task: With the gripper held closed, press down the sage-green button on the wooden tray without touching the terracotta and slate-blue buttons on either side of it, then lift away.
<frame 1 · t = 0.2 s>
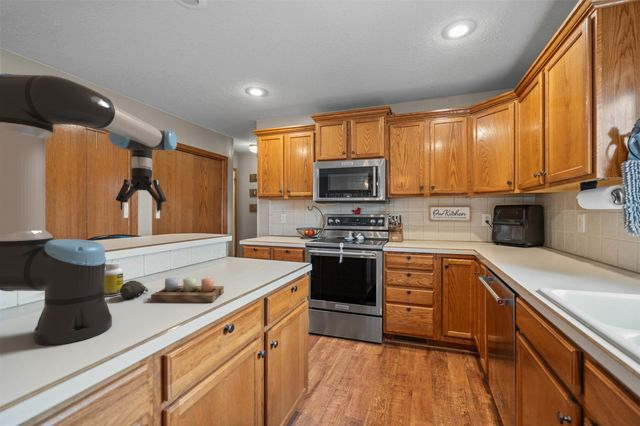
hand: (141, 218, 121), 28 cm above the counter, fingers open, 13 cm apart
sage button: (189, 284, 103), point 4 cm above the counter, slide at 0.0 cm
hand grenade: (134, 297, 102), on the counter
slate button: (171, 284, 103), point 4 cm above the counter, slide at 0.0 cm
terracotta button: (207, 284, 103), point 4 cm above the counter, slide at 0.0 cm
pill bottle: (112, 295, 104), on the counter
wooden tray: (189, 297, 103), on the counter
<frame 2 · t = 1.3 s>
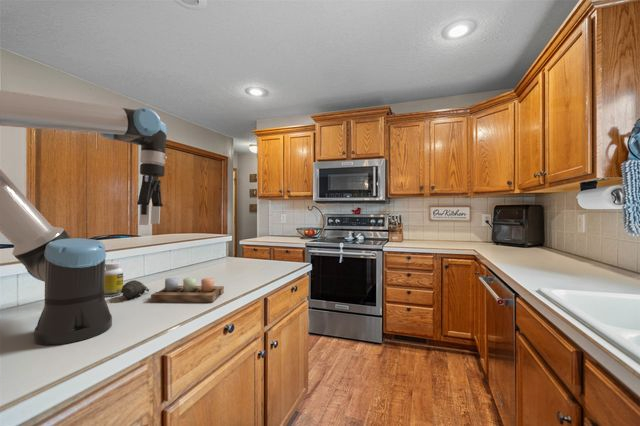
hand: (150, 224, 100), 26 cm above the counter, fingers open, 13 cm apart
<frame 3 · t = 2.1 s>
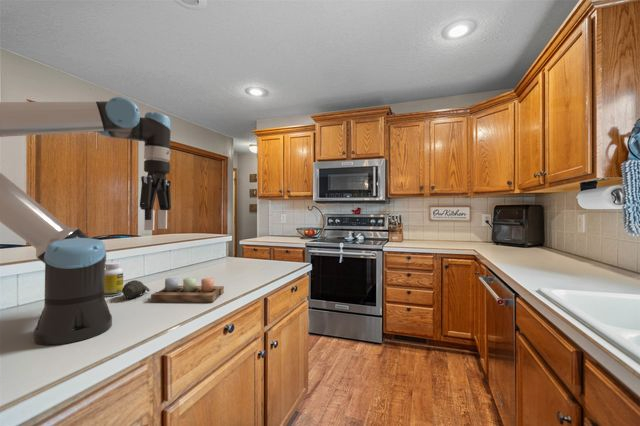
hand: (156, 229, 95), 25 cm above the counter, fingers open, 7 cm apart
nothing on the counter moved.
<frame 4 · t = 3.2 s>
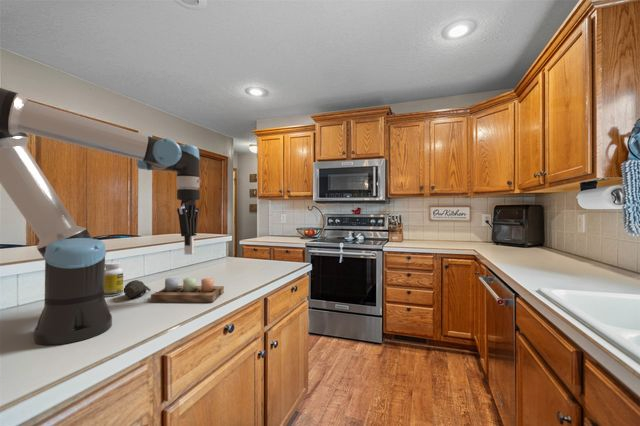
hand: (189, 254, 103), 16 cm above the counter, fingers closed
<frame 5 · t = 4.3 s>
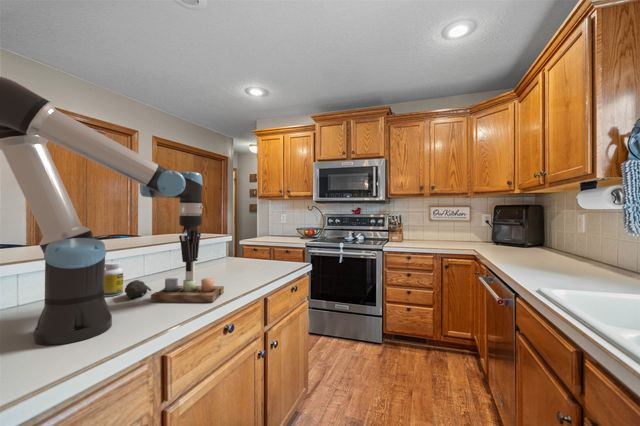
hand: (190, 279, 103), 6 cm above the counter, fingers closed
sage button: (189, 285, 103), point 4 cm above the counter, slide at 0.4 cm, touching gripper
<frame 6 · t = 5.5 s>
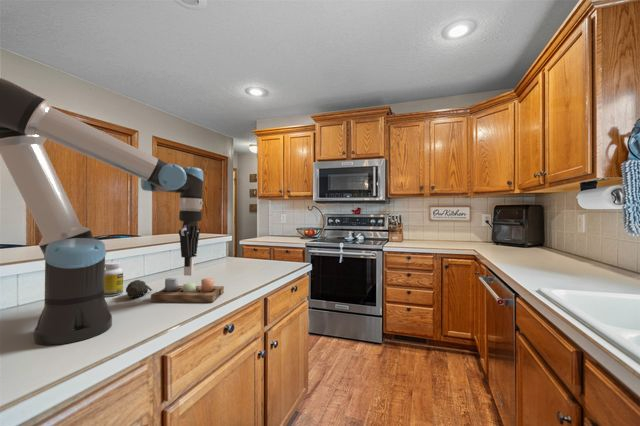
hand: (188, 275, 103), 8 cm above the counter, fingers closed
sage button: (189, 289, 103), point 3 cm above the counter, slide at 1.9 cm
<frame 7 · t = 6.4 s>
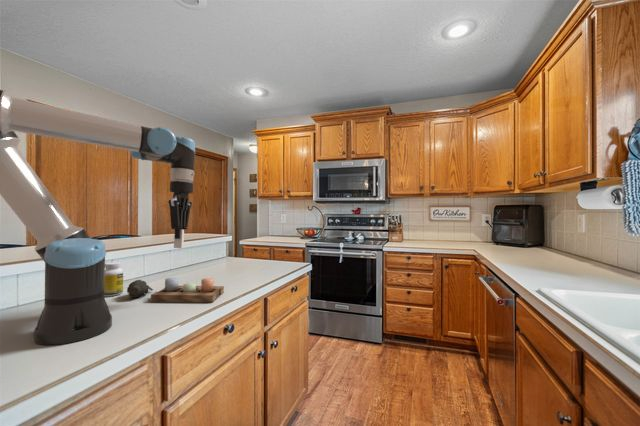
hand: (178, 247, 100), 18 cm above the counter, fingers closed
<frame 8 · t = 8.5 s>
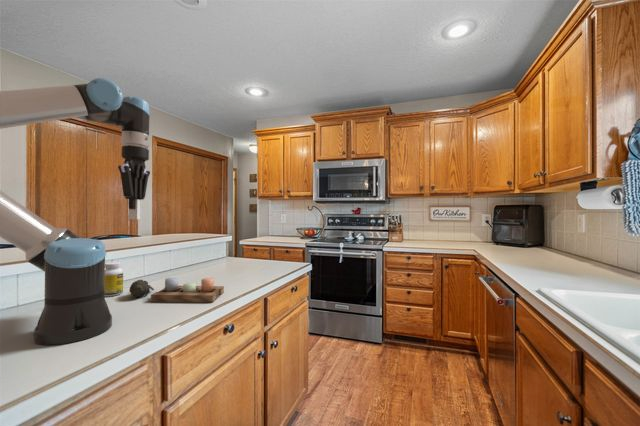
hand: (134, 219, 92), 28 cm above the counter, fingers closed
at the end: sage button slide at 1.9 cm; terracotta button slide at 0.0 cm; slate button slide at 0.0 cm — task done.
